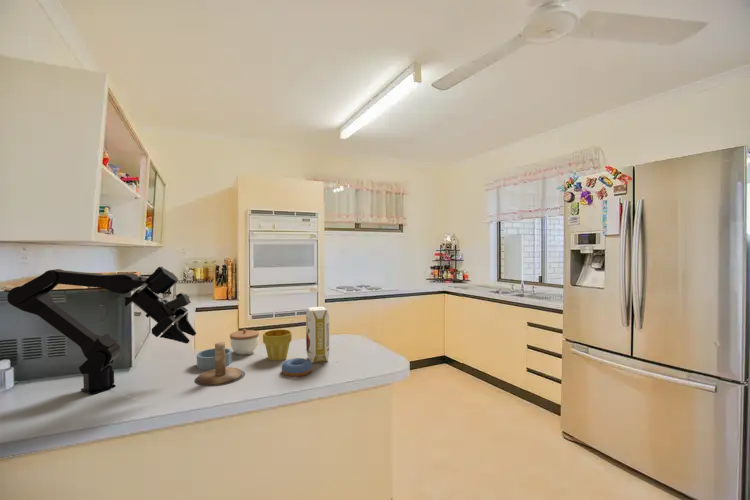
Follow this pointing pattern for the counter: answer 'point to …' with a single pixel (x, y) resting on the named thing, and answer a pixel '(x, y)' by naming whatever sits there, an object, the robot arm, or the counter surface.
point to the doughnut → (296, 367)
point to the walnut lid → (219, 369)
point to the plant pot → (277, 343)
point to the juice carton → (317, 334)
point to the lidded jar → (244, 341)
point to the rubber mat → (219, 384)
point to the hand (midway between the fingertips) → (192, 338)
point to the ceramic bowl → (211, 359)
